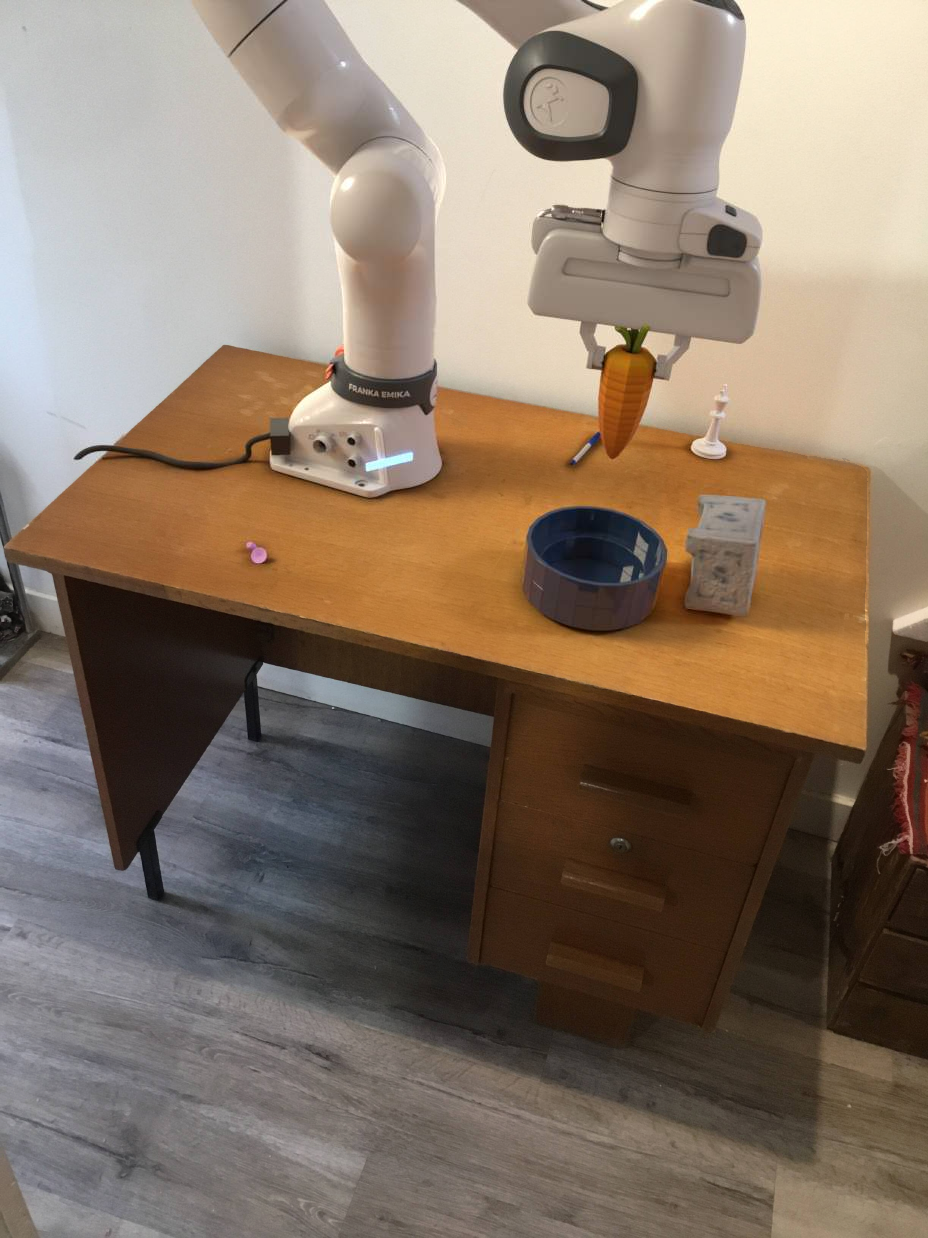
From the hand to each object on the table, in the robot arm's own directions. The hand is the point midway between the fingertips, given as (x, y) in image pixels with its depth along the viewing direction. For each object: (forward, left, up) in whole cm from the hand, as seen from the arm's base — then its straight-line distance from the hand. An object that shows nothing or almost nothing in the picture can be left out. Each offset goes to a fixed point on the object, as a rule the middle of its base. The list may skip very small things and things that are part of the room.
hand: (628, 372), depth 85 cm
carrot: (0, 0, -9) cm, 9 cm away
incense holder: (+14, +4, -26) cm, 30 cm away
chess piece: (+13, +38, -26) cm, 48 cm away
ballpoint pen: (-4, +32, -26) cm, 42 cm away
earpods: (-37, -5, -26) cm, 45 cm away
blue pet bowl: (0, 0, -26) cm, 26 cm away
